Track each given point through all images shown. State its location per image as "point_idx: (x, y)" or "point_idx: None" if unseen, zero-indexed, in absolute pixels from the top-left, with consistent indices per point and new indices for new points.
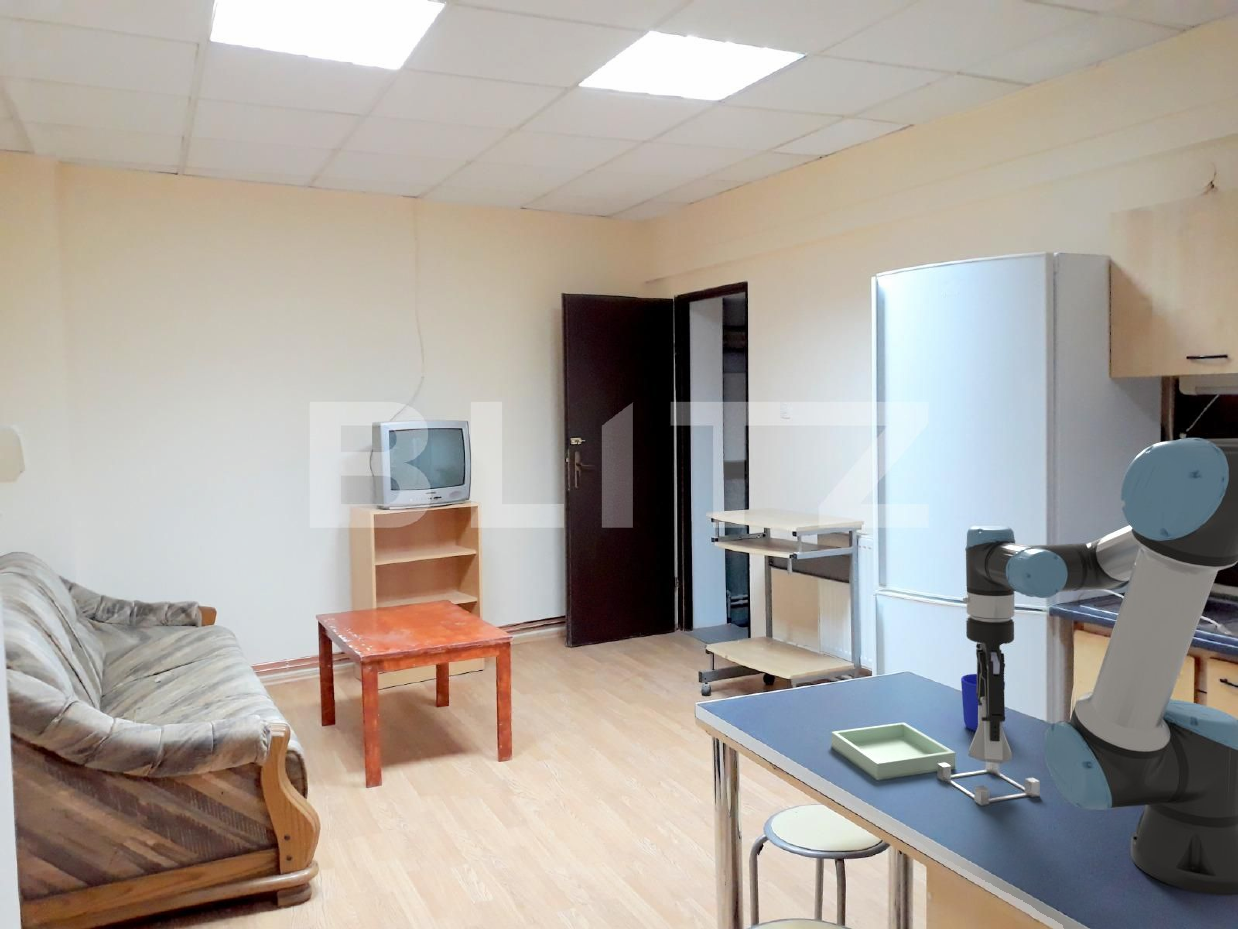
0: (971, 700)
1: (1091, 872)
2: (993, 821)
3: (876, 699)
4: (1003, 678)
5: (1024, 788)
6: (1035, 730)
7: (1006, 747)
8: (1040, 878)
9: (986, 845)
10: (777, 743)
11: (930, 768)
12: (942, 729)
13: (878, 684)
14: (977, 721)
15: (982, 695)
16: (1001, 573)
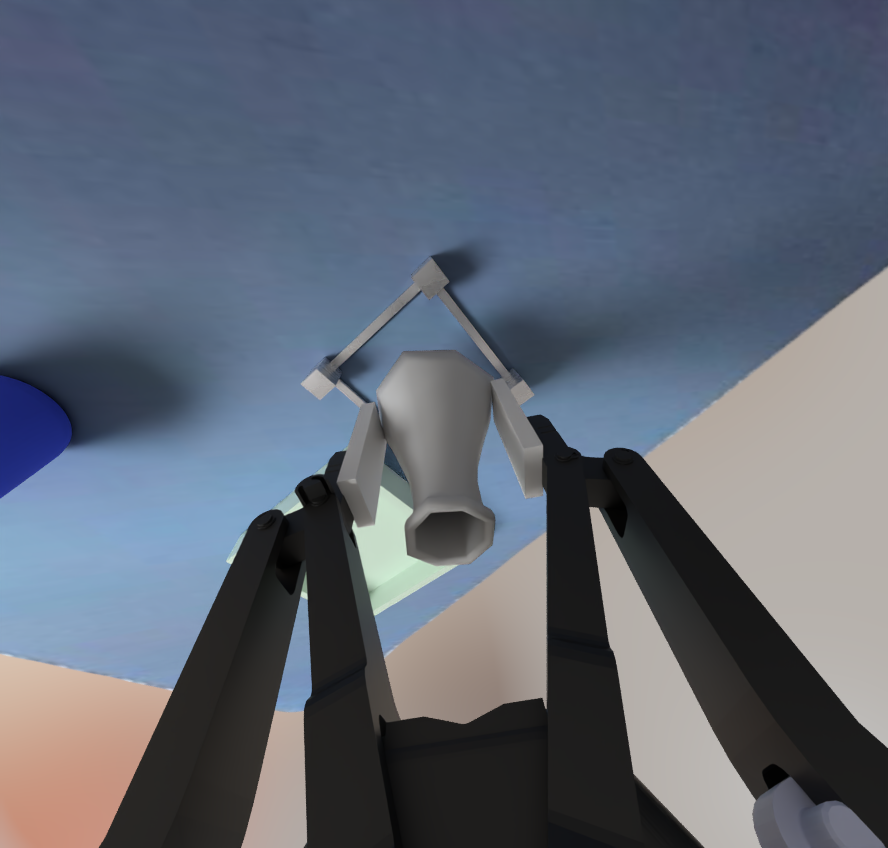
0: None
1: (821, 139)
2: (590, 354)
3: (55, 602)
4: (831, 694)
5: (408, 295)
6: None
7: (460, 379)
8: (819, 262)
9: (688, 361)
10: (386, 639)
11: (397, 479)
12: (125, 486)
13: None
14: (48, 438)
15: (357, 557)
16: None
